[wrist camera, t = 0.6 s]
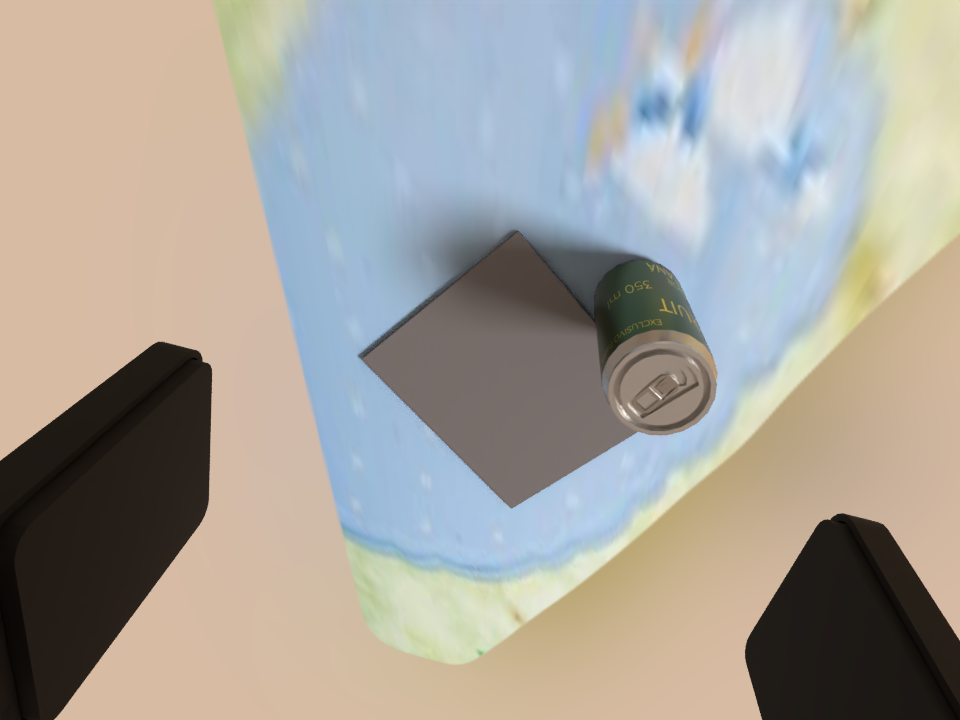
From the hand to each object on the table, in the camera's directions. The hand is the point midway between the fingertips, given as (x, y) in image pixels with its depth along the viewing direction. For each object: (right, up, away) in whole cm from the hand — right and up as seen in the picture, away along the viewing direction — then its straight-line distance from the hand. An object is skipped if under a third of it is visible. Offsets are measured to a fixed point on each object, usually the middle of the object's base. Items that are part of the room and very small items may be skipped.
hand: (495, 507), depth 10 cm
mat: (+2, +1, +35) cm, 35 cm away
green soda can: (+10, +6, +31) cm, 33 cm away
